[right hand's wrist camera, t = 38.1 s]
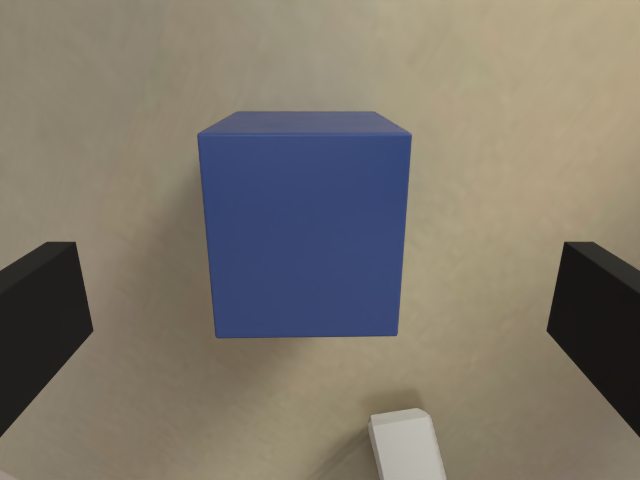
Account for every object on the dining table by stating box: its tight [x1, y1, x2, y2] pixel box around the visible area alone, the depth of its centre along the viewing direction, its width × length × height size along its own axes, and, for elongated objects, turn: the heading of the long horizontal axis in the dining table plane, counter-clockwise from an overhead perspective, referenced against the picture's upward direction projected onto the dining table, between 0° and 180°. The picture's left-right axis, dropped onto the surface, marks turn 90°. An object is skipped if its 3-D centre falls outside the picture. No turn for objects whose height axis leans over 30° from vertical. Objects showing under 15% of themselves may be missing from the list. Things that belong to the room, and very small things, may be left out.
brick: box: [197, 112, 412, 338], centre depth 19 cm, size 7×7×8 cm
